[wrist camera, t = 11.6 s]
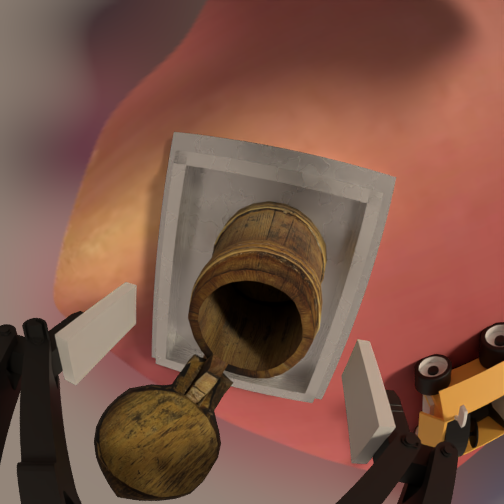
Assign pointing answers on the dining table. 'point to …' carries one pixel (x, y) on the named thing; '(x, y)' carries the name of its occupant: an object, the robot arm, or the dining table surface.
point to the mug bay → (256, 191)
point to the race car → (463, 396)
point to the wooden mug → (219, 351)
